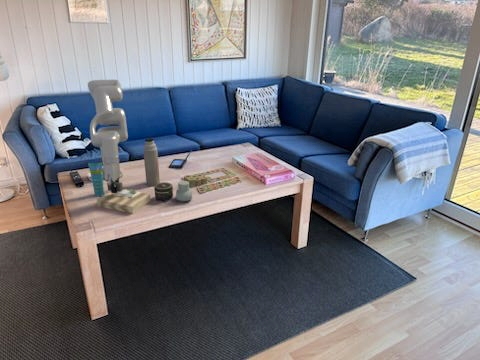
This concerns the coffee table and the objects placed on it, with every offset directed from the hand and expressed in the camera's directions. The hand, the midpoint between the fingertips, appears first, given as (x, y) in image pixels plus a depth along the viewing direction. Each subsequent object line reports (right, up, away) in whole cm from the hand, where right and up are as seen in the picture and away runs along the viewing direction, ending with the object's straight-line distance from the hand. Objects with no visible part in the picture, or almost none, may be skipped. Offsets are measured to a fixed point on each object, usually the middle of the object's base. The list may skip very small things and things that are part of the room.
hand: (115, 191), depth 198 cm
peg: (+3, -2, 0) cm, 4 cm away
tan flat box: (+5, -7, +1) cm, 8 cm away
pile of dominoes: (+50, +5, +33) cm, 60 cm away
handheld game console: (+26, +16, +57) cm, 65 cm away
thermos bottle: (+14, +4, +26) cm, 30 cm away
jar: (+24, -4, +8) cm, 26 cm away
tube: (-13, -2, +11) cm, 17 cm away
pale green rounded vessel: (+36, -5, +7) cm, 37 cm away
